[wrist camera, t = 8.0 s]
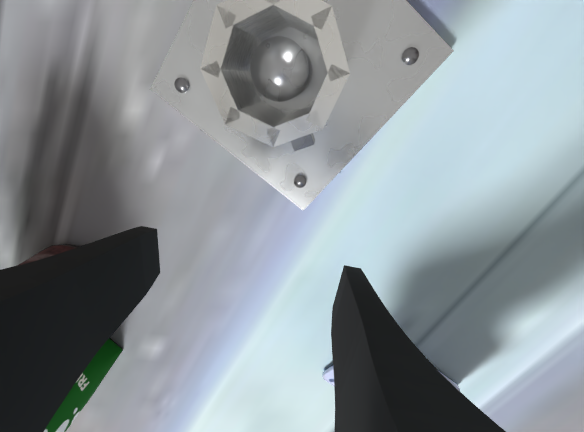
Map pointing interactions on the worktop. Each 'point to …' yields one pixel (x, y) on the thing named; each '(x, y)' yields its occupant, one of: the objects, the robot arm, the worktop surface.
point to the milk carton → (84, 387)
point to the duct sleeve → (237, 59)
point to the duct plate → (309, 86)
